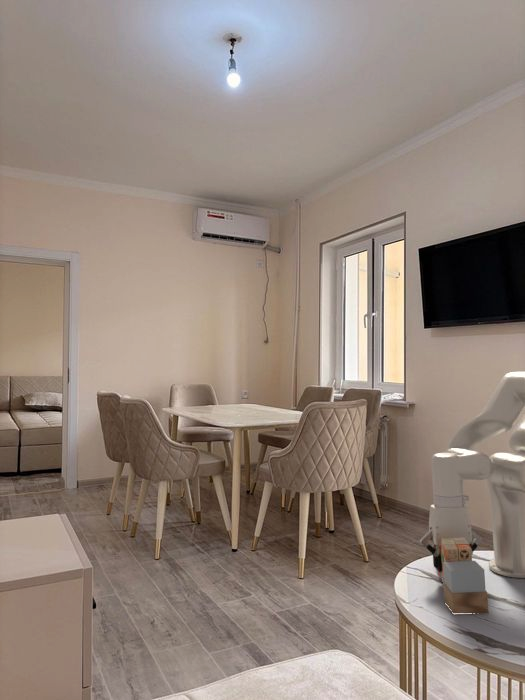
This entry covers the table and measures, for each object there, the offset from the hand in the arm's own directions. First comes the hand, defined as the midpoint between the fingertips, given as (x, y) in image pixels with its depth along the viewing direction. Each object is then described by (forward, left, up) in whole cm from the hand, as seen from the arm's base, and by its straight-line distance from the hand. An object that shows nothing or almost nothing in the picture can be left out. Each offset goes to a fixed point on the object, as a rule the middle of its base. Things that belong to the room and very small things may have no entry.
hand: (452, 568), depth 138 cm
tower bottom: (+2, +15, -4) cm, 15 cm away
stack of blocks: (0, -1, -4) cm, 4 cm away
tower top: (+2, +15, +1) cm, 15 cm away
